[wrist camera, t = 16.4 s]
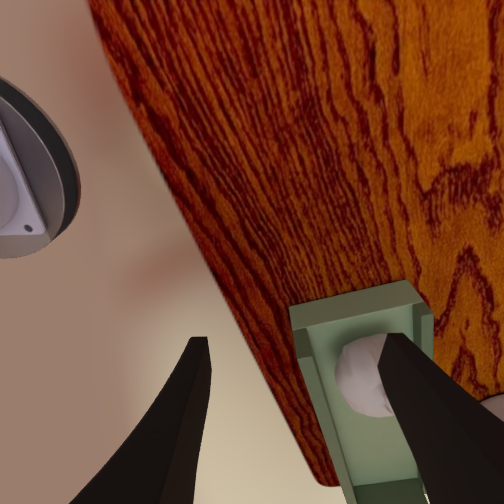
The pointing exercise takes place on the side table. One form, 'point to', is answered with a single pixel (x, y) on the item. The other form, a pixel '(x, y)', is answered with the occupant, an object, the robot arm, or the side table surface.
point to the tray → (338, 410)
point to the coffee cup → (495, 405)
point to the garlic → (363, 376)
